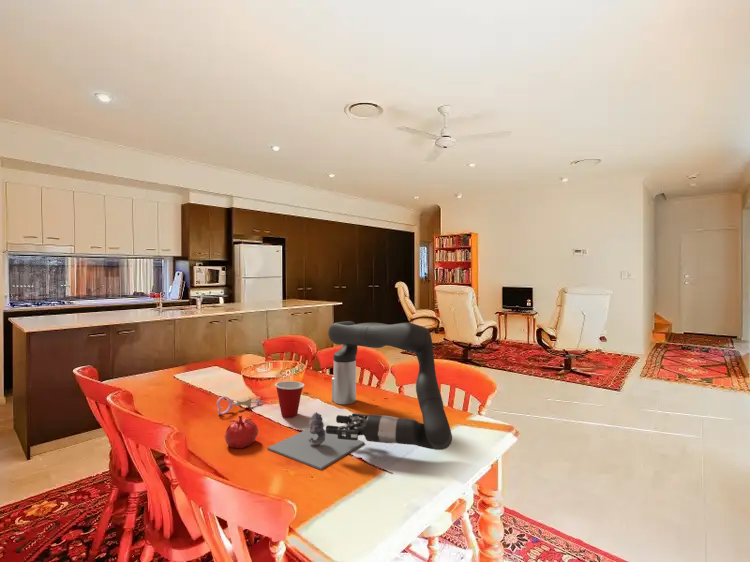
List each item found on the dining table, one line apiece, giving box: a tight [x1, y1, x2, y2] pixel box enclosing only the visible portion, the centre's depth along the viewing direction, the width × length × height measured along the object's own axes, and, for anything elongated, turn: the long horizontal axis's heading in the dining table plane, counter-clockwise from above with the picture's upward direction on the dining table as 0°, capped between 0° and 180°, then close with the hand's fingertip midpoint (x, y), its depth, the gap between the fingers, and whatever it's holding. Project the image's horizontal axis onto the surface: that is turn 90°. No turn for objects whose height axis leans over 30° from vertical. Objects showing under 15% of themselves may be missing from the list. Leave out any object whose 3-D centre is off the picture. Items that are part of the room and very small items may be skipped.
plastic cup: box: [274, 380, 305, 419], centre depth 150 cm, size 11×11×12 cm
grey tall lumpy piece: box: [308, 412, 325, 445], centre depth 123 cm, size 5×5×10 cm
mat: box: [267, 427, 365, 471], centre depth 123 cm, size 22×20×1 cm
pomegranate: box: [224, 414, 259, 449], centre depth 125 cm, size 10×10×9 cm
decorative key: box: [216, 395, 265, 416], centre depth 157 cm, size 7×1×20 cm
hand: (331, 423), depth 122 cm, fingers open, 8 cm apart
